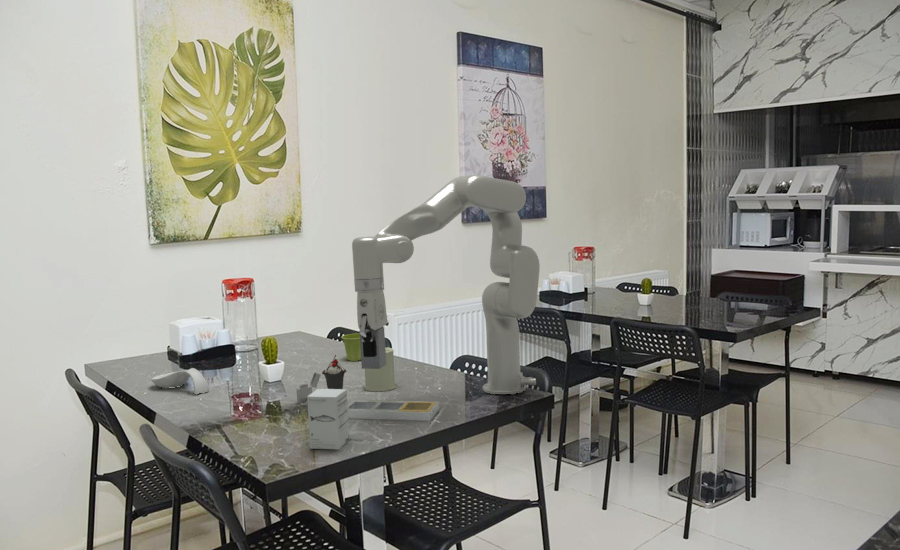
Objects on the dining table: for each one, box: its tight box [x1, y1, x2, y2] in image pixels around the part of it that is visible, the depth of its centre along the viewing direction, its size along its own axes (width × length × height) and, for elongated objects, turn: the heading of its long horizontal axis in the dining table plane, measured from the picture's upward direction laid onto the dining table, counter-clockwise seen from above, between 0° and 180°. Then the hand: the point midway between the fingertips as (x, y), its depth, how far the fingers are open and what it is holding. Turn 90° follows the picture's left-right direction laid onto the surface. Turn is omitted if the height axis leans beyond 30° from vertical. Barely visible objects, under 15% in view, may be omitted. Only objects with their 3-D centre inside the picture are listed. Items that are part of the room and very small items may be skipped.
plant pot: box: [340, 332, 361, 362], centre depth 261 cm, size 9×9×9 cm
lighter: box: [296, 371, 322, 405], centre depth 208 cm, size 7×2×8 cm, turn 126°
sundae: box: [321, 354, 348, 389], centre depth 201 cm, size 7×7×15 cm
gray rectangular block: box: [359, 326, 386, 370], centre depth 189 cm, size 5×5×10 cm
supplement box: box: [307, 388, 349, 451], centre depth 170 cm, size 7×7×13 cm
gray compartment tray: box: [347, 399, 440, 425], centre depth 190 cm, size 24×10×3 cm, turn 78°
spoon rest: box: [151, 367, 210, 395], centre depth 229 cm, size 24×12×7 cm, turn 51°
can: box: [364, 346, 396, 392], centre depth 220 cm, size 9×9×12 cm
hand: (373, 353), depth 189 cm, fingers closed on gray rectangular block, 5 cm apart
